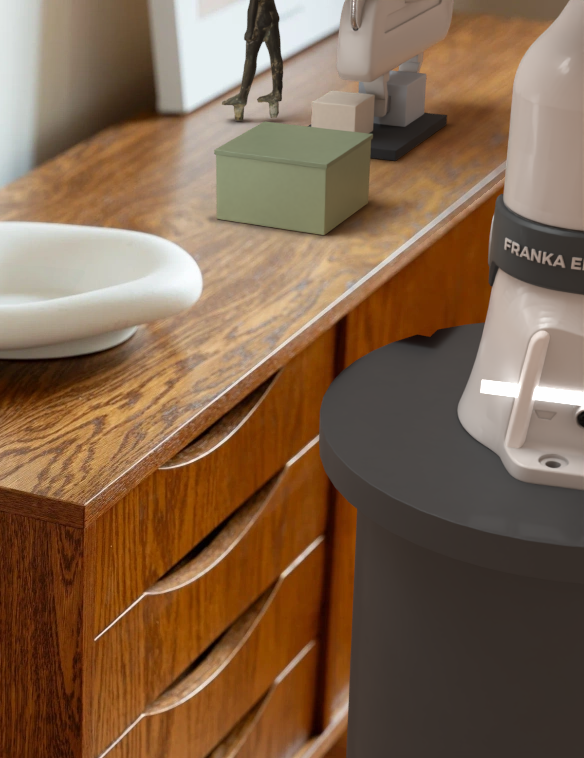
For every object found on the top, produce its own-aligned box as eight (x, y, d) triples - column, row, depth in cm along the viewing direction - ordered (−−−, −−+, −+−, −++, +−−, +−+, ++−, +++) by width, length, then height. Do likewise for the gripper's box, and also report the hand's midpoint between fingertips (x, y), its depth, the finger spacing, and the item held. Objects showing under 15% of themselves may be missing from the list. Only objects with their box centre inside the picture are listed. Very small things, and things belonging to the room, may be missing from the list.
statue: (231, 111, 156) (231, -92, 146) (290, 115, 154) (293, -92, 144) (216, 124, 152) (215, -85, 142) (276, 128, 150) (278, -84, 140)
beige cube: (373, 130, 144) (375, 94, 142) (354, 143, 141) (355, 106, 139) (330, 125, 146) (331, 90, 144) (310, 138, 143) (311, 101, 141)
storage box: (370, 202, 129) (373, 133, 126) (325, 236, 122) (327, 164, 119) (263, 188, 134) (264, 121, 131) (214, 219, 127) (213, 149, 124)
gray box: (424, 114, 148) (426, 73, 146) (405, 127, 144) (407, 85, 142) (377, 109, 150) (378, 69, 148) (356, 122, 147) (358, 80, 145)
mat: (446, 124, 148) (447, 114, 147) (395, 161, 138) (396, 150, 138) (343, 113, 153) (343, 103, 153) (287, 147, 144) (287, 137, 143)
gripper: (387, -18, 131) (380, 138, 138) (469, -58, 146) (459, 85, 153) (321, -22, 134) (317, 130, 141) (408, -61, 149) (400, 79, 156)
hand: (391, 106), depth 147 cm, fingers closed on gray box, 5 cm apart
